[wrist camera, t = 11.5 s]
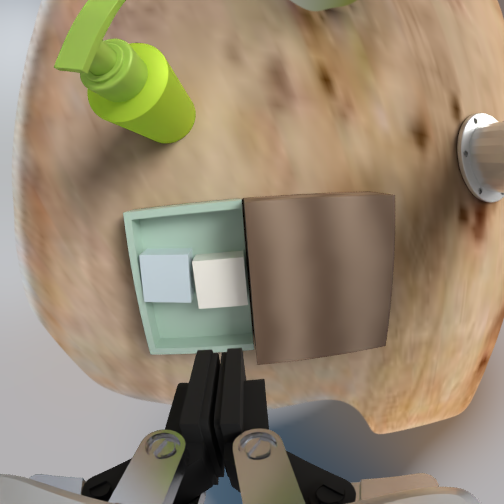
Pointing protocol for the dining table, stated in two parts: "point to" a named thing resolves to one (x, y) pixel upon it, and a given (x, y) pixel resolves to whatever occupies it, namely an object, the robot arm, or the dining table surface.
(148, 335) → the box
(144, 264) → the pale blue square block
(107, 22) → the soap dispenser
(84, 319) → the dining table surface
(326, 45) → the dining table surface
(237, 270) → the cream square block
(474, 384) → the dining table surface
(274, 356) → the brown wooden block
